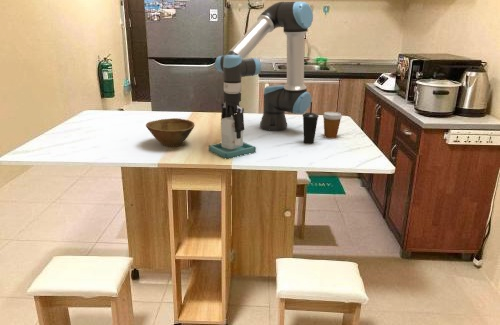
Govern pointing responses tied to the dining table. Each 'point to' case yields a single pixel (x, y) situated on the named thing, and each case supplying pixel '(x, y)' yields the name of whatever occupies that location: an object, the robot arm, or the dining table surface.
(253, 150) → the tray
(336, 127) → the disposable coffee cup
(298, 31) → the robot arm
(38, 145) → the dining table surface
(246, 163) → the dining table surface
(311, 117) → the drinking cup
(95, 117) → the dining table surface
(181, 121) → the bowl
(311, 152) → the dining table surface
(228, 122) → the small box
